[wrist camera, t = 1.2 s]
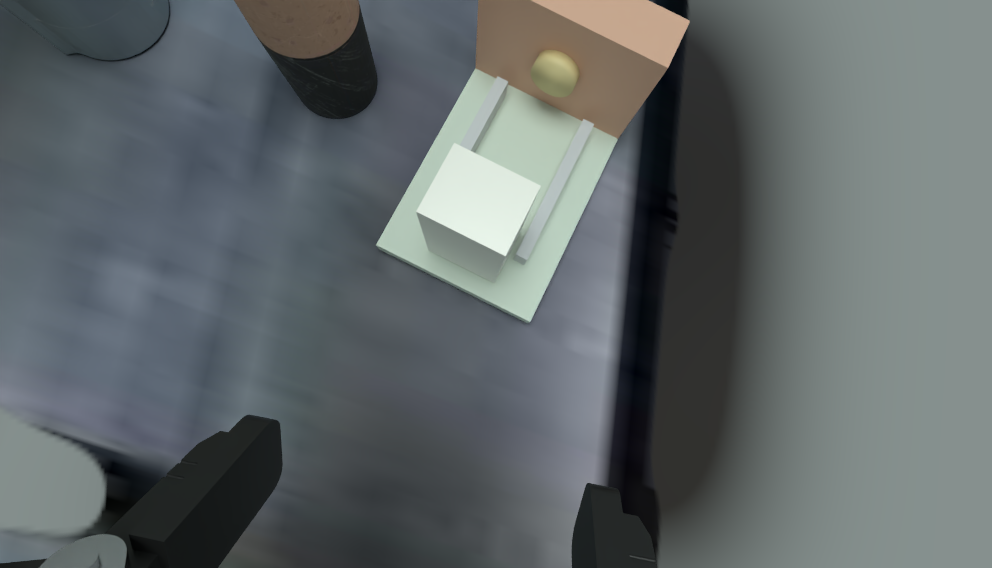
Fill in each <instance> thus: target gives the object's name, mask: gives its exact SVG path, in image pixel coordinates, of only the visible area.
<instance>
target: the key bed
mask: <svg viewBox="0 0 992 568" xmlns="http://www.w3.org/2000/svg"><path fill="white" fill-rule="evenodd" d="M689 22H690V21H689V20H687V19H685V18H683V17H681V16H679V15H677V14H675V13H673V12H671V11H669V10H667V9H665V8H663V7H661V6H658V5H656V4H654V3H652V2H650V1H648V0H478V24H477V47H476V68H475V70H474V72H473V74H472V76H471V77H470V79H469V81H468V83H467V84H466V86H465V88H464V90H463V92H462V93H461V95H460V97H459V99H458V100H457V102H456V104H455V106H454V108H453V109H452V111H451V113H450V115H449V116H448V118H447V120H446V122H445V123H444V125H443V127H442V129H441V131H440V132H439V134H438V136H437V138H436V139H435V141H434V143H433V145H432V147H431V148H430V150H429V152H428V154H427V155H426V157H425V159H424V161H423V163H422V164H421V166H420V168H419V170H418V171H417V173H416V175H415V177H414V179H413V180H412V182H411V184H410V186H409V187H408V189H407V191H406V193H405V194H404V196H403V198H402V200H401V202H400V203H399V205H398V207H397V209H396V210H395V212H394V214H393V216H392V218H391V219H390V221H389V223H388V225H387V226H386V228H385V230H384V232H383V234H382V235H381V237H380V239H379V241H378V242H377V244H376V245H377V247H378V248H379V249H380V250H382V251H384V252H386V253H388V254H390V255H392V256H394V257H396V258H398V259H400V260H402V261H404V262H406V263H408V264H410V265H412V266H414V267H416V268H418V269H420V270H422V271H424V272H426V273H428V274H430V275H432V276H434V277H436V278H438V279H440V280H442V281H444V282H446V283H448V284H450V285H452V286H454V287H456V288H458V289H460V290H462V291H464V292H466V293H468V294H470V295H472V296H474V297H476V298H478V299H480V300H482V301H484V302H486V303H488V304H490V305H492V306H494V307H496V308H498V309H500V310H502V311H504V312H506V313H508V314H510V315H512V316H514V317H516V318H518V319H520V320H522V321H524V322H526V323H529V322H531V319H532V317H533V315H534V313H535V311H536V309H537V307H538V305H539V303H540V301H541V299H542V296H543V294H544V292H545V290H546V288H547V286H548V284H549V282H550V280H551V278H552V276H553V274H554V271H555V269H556V267H557V265H558V263H559V261H560V259H561V257H562V255H563V253H564V251H565V248H566V246H567V244H568V242H569V240H570V238H571V236H572V234H573V232H574V230H575V228H576V226H577V223H578V221H579V219H580V217H581V215H582V213H583V211H584V209H585V207H586V205H587V203H588V200H589V198H590V196H591V194H592V192H593V190H594V188H595V186H596V184H597V182H598V180H599V178H600V175H601V173H602V171H603V169H604V167H605V165H606V163H607V161H608V159H609V157H610V155H611V153H612V150H613V148H614V146H615V144H616V142H617V140H618V138H619V137H620V135H621V134H622V133H623V131H624V130H625V128H626V127H627V125H628V124H629V123H630V121H631V120H632V118H633V117H634V115H635V114H636V113H637V111H638V110H639V108H640V107H641V106H642V104H643V103H644V101H645V100H646V98H647V97H648V96H649V94H650V93H651V91H652V90H653V88H654V87H655V86H656V84H657V83H658V81H659V80H660V78H661V77H662V76H663V74H664V73H665V71H666V70H667V69H668V67H669V65H670V62H671V60H672V58H673V56H674V54H675V52H676V50H677V48H678V45H679V43H680V41H681V39H682V37H683V35H684V33H685V31H686V29H687V26H688V24H689ZM454 143H456V144H458V145H460V146H462V147H464V148H466V149H468V150H470V151H472V152H474V153H476V154H478V155H480V156H482V157H484V158H486V159H488V160H490V161H492V162H494V163H496V164H498V165H500V166H502V167H504V168H506V169H508V170H510V171H512V172H514V173H516V174H518V175H520V176H522V177H524V178H526V179H528V180H530V181H532V182H534V183H536V184H538V185H540V186H541V187H540V189H539V192H538V194H537V196H536V198H535V200H534V203H533V205H532V207H531V209H530V212H529V214H528V216H527V218H526V220H525V223H524V225H523V227H522V229H521V231H520V233H519V235H518V237H517V239H516V241H515V243H514V245H513V247H512V249H511V251H510V253H509V255H508V257H507V259H506V261H505V263H504V265H503V267H502V269H501V271H500V273H499V275H498V277H497V279H496V281H495V283H493V282H491V281H489V280H487V279H485V278H483V277H481V276H479V275H477V274H475V273H473V272H471V271H469V270H467V269H465V268H463V267H461V266H459V265H457V264H455V263H453V262H451V261H449V260H447V259H445V258H443V257H441V256H439V255H437V254H435V253H433V252H431V251H429V250H428V247H427V244H426V241H425V238H424V235H423V232H422V229H421V225H420V222H419V219H418V216H417V213H416V211H417V209H418V207H419V205H420V204H421V202H422V200H423V198H424V196H425V195H426V193H427V191H428V189H429V187H430V186H431V184H432V182H433V180H434V178H435V176H436V175H437V173H438V171H439V169H440V167H441V166H442V164H443V162H444V160H445V158H446V157H447V155H448V153H449V151H450V149H451V148H452V146H453V144H454Z"/></svg>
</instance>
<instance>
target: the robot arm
mask: <svg viewBox="0 0 992 568" xmlns="http://www.w3.org/2000/svg"><path fill="white" fill-rule="evenodd" d="M0 5H2V6H3V7H4V8H6V9H7V10H8V11H10V12H11V13H12V14H13V15H15V16H16V17H17V18H19V19H20V20H21V21H23V22H24V23H25V24H27V25H28V26H29V27H30V28H32V29H33V30H34V31H36V32H37V33H38V34H40V35H41V36H42V37H43V38H45V39H46V40H47V41H49V42H50V43H51V44H53V45H54V46H55V47H57V48H58V49H59V50H60V51H62V52H63V53H64V54H72V53H80V54H84V55H86V56H89V57H92V58H95V59H101V60H119V59H124V58H129V57H132V56H134V55H137V54H139V53H141V52H143V51H144V50H146V49H147V48H149V47H150V46H151V45H152V44H153V43H155V42H156V41H157V40H158V38H159V37H160V36H161V34H162V33H163V31H164V29H165V27H166V24H167V22H168V17H169V3H168V0H0ZM281 472H282V447H281V431H280V423H279V421H277V420H274V419H269V418H264V417H259V416H254V415H246V416H245V417H243V418H242V419H241V420H240V421H239V422H238V423H237V424H236V425H235V426H234V427H233V428H232V429H231V430H230V431H229V432H223V431H220V432H218V433H216V434H214V435H213V436H211V437H209V438H207V439H206V440H204V441H202V442H200V443H198V444H197V445H196V446H195V447H194V448H193V449H192V450H191V451H190V452H189V453H188V454H187V455H186V456H185V457H184V458H183V459H182V460H181V463H180V464H179V463H178V464H177V465H176V466H175V467H174V468H172V469H171V470H170V471H169V472H168V473H167V476H166V477H163V478H162V479H161V480H160V481H159V482H158V483H157V484H156V485H155V486H154V487H153V488H152V489H151V490H150V491H149V492H148V493H147V494H145V495H144V496H143V497H142V498H141V499H140V500H139V501H138V502H137V503H136V504H135V505H134V506H133V507H132V508H131V509H130V510H129V511H128V512H127V513H126V514H125V515H124V516H123V517H122V518H121V519H120V520H119V521H117V522H116V523H115V524H114V525H113V526H112V527H111V528H110V529H109V530H108V531H107V532H106V533H104V534H101V535H94V536H89V537H86V538H83V539H80V540H77V541H75V542H73V543H71V544H69V545H67V546H65V547H63V548H62V549H60V550H58V551H57V552H55V553H54V554H53V555H52V556H50V557H49V558H48V559H42V560H31V561H21V562H11V563H1V564H0V568H218V567H219V565H220V564H221V562H222V561H223V560H224V558H225V557H226V556H227V554H228V553H229V551H230V550H231V549H232V547H233V546H234V544H235V543H236V542H237V540H238V539H239V538H240V536H241V535H242V533H243V532H244V531H245V529H246V528H247V527H248V525H249V524H250V522H251V521H252V520H253V518H254V517H255V515H256V514H257V513H258V511H259V510H260V509H261V507H262V506H263V504H264V503H265V502H266V500H267V499H268V497H269V496H270V495H271V493H272V492H273V490H274V489H275V487H276V485H277V483H278V481H279V479H280V476H281ZM655 560H656V559H655V554H654V550H653V545H652V540H651V537H650V535H649V533H648V532H647V530H646V528H645V527H644V525H643V524H642V522H641V520H640V519H639V517H638V516H634V515H629V514H624V513H623V512H622V505H621V499H620V493H619V490H618V489H616V488H611V487H606V486H601V485H596V484H591V483H587V485H586V487H585V490H584V494H583V498H582V501H581V505H580V508H579V512H578V515H577V519H576V522H575V526H574V531H573V539H572V568H657V564H655Z"/></svg>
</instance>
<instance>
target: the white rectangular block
mask: <svg viewBox="0 0 992 568" xmlns="http://www.w3.org/2000/svg"><path fill="white" fill-rule="evenodd" d="M540 187H541V186H540V185H538V184H536V183H534V182H532V181H530V180H528V179H526V178H524V177H522V176H520V175H518V174H516V173H514V172H512V171H510V170H508V169H506V168H504V167H502V166H500V165H498V164H496V163H494V162H492V161H490V160H488V159H486V158H484V157H482V156H480V155H478V154H476V153H474V152H472V151H470V150H468V149H466V148H464V147H462V146H460V145H458V144H456V143H454V144H453V146H452V148H451V149H450V151H449V153H448V155H447V157H446V158H445V160H444V162H443V164H442V166H441V167H440V169H439V171H438V173H437V175H436V176H435V178H434V180H433V182H432V184H431V186H430V187H429V189H428V191H427V193H426V195H425V196H424V198H423V200H422V202H421V204H420V205H419V207H418V209H417V211H416V213H417V216H418V219H419V222H420V225H421V229H422V232H423V235H424V238H425V241H426V244H427V247H428V250H429V251H431V252H433V253H435V254H437V255H439V256H441V257H443V258H445V259H447V260H449V261H451V262H453V263H455V264H457V265H459V266H461V267H463V268H465V269H467V270H469V271H471V272H473V273H475V274H477V275H479V276H481V277H483V278H485V279H487V280H489V281H491V282H493V283H495V281H496V279H497V277H498V275H499V273H500V271H501V269H502V267H503V265H504V263H505V261H506V259H507V257H508V255H509V253H510V251H511V249H512V247H513V245H514V243H515V241H516V239H517V237H518V235H519V233H520V231H521V229H522V227H523V225H524V223H525V220H526V218H527V216H528V214H529V212H530V209H531V207H532V205H533V203H534V200H535V198H536V196H537V194H538V192H539V189H540Z"/></svg>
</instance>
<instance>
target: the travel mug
mask: <svg viewBox="0 0 992 568" xmlns="http://www.w3.org/2000/svg"><path fill="white" fill-rule="evenodd" d="M234 1H235V3H236V4H237V6H238V7H239V9H240V11H241V12H242V14H243V15H244V17H245V19H246V20H247V22H248V23H249V25H250V27H251V28H252V30H253V31H254V33H255V35H256V36H257V38H258V39H259V40H260V42H261V43H262V45H263V46H264V48H265V49H266V51H267V52H268V53H269V55H270V56H271V58H272V59H273V61H274V62H275V64H276V65H277V66H278V68H279V69H280V71H281V72H282V74H283V75H284V76H285V78H286V79H287V81H288V82H289V84H290V85H291V87H292V88H293V89H294V91H295V92H296V94H297V95H298V96H299V98H300V99H301V100H302V102H303V103H304V104H305V105H306V106H307V107H308V108H309V109H310V110H312V111H313V112H315V113H317V114H319V115H321V116H324V117H328V118H346V117H350V116H353V115H355V114H357V113H359V112H360V111H362V110H363V109H364V108H366V107H367V106H368V104H369V103H370V102H371V100H372V99H373V97H374V95H375V92H376V88H377V74H376V69H375V65H374V61H373V57H372V53H371V49H370V45H369V41H368V37H367V33H366V29H365V25H364V21H363V17H362V13H361V9H360V5H359V1H358V0H234Z"/></svg>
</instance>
